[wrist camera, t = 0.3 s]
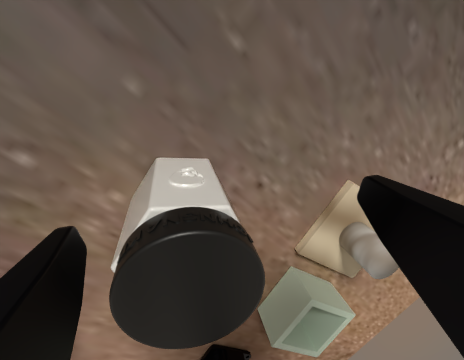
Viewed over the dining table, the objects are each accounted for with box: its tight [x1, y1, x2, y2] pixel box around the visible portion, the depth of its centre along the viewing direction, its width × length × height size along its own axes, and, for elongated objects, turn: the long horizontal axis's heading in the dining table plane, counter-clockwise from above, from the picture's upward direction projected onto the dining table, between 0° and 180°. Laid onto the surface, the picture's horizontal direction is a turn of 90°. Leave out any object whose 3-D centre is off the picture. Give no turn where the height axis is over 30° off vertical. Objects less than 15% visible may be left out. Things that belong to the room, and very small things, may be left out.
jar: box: [109, 158, 265, 349], centre depth 18 cm, size 9×8×12 cm
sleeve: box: [258, 266, 355, 357], centre depth 31 cm, size 7×7×5 cm
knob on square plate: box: [295, 180, 399, 279], centre depth 28 cm, size 10×10×6 cm
